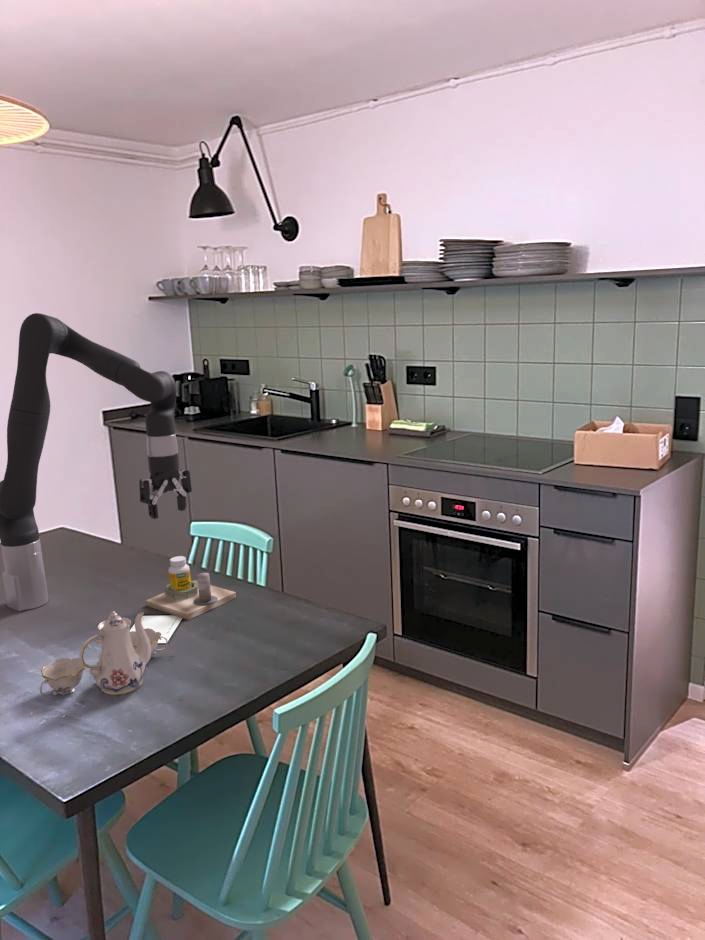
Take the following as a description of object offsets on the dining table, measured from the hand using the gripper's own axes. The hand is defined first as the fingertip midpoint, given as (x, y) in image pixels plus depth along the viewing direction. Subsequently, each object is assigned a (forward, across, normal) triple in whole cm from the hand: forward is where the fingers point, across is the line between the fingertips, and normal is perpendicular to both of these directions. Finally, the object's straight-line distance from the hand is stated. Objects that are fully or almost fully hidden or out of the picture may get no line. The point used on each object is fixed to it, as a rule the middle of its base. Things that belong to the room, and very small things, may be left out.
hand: (168, 514), depth 195 cm
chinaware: (+23, +35, +25) cm, 49 cm away
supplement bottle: (+21, 0, +3) cm, 21 cm away
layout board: (+22, 0, +6) cm, 23 cm away
